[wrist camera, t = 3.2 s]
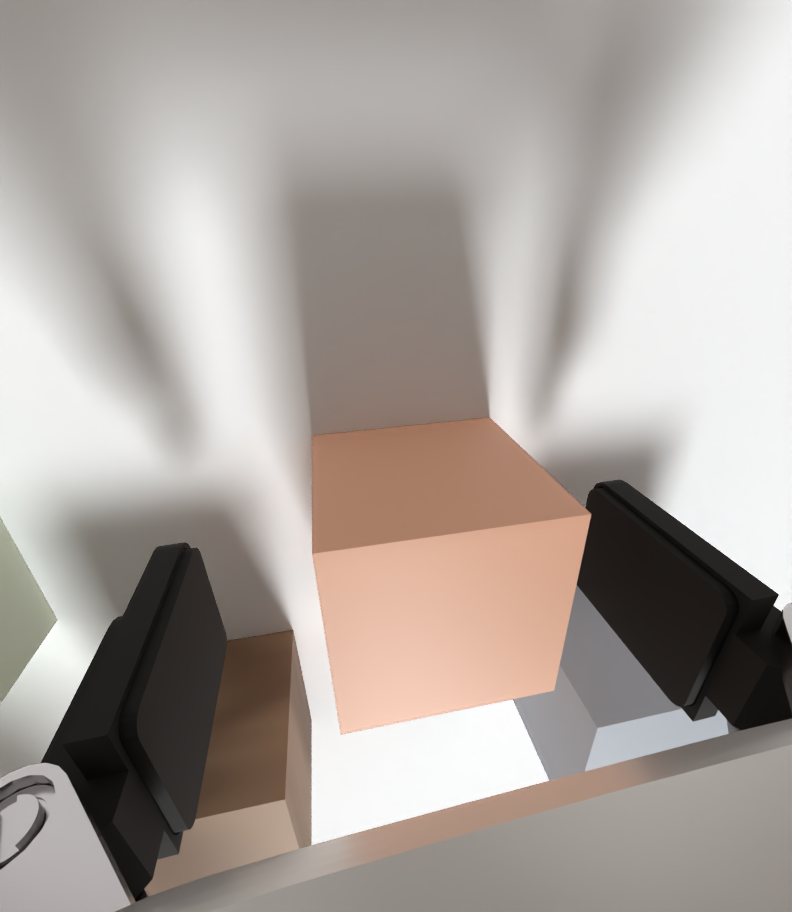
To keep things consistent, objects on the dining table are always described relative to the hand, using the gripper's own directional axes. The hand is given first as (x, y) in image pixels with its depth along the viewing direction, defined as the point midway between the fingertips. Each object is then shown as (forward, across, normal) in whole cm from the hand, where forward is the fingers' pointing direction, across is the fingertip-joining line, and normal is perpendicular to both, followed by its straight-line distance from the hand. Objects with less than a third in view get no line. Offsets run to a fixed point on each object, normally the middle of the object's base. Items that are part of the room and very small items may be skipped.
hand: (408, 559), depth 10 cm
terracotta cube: (+3, 0, 0) cm, 3 cm away
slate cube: (+3, -7, +7) cm, 10 cm away
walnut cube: (+3, +6, +7) cm, 10 cm away
